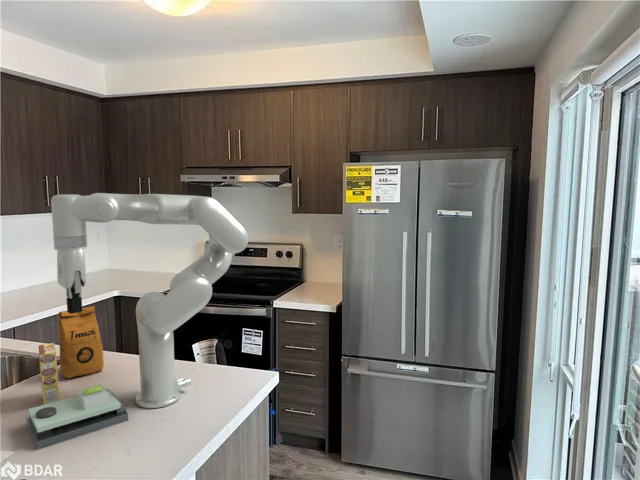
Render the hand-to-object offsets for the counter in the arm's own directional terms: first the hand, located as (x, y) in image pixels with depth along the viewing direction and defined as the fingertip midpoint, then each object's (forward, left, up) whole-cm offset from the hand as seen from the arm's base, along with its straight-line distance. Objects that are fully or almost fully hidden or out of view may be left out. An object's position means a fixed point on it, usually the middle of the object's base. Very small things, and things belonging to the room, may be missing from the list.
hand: (74, 311), depth 120 cm
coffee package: (-8, -31, -29) cm, 43 cm away
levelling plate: (+2, +3, -26) cm, 26 cm away
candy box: (+4, -17, -29) cm, 34 cm away
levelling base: (+1, +3, -29) cm, 29 cm away
